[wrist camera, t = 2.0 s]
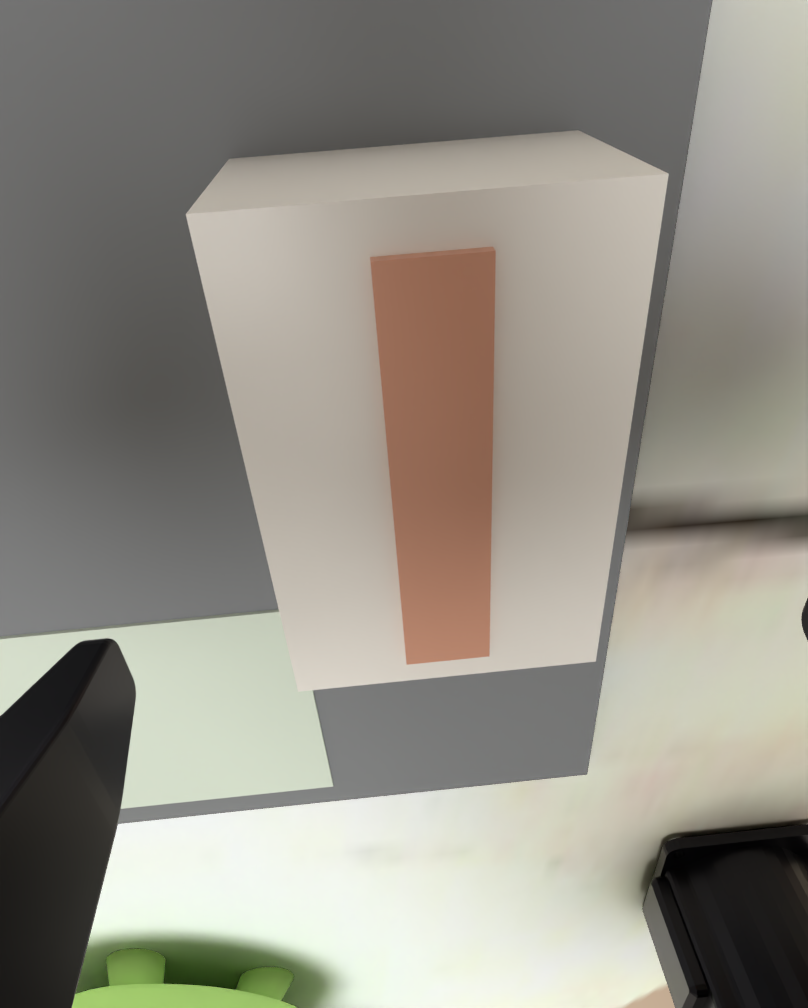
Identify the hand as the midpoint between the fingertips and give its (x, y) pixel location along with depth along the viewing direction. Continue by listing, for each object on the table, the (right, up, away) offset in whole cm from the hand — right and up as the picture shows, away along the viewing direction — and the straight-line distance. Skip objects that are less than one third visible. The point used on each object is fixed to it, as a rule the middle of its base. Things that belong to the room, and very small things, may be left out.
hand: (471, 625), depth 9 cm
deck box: (-1, +4, +5) cm, 7 cm away
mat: (-5, +1, +8) cm, 10 cm away
